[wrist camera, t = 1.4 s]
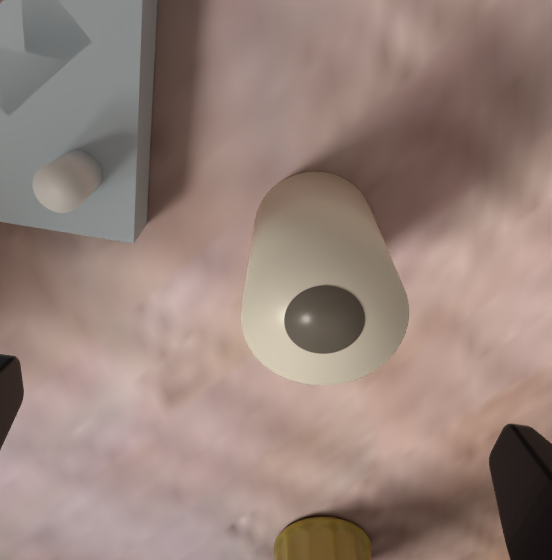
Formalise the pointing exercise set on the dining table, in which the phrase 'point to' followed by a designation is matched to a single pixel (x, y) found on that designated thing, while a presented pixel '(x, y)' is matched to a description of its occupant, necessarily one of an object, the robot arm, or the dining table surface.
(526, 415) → the dining table surface
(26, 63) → the jig
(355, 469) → the dining table surface
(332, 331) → the bushing
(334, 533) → the vase
